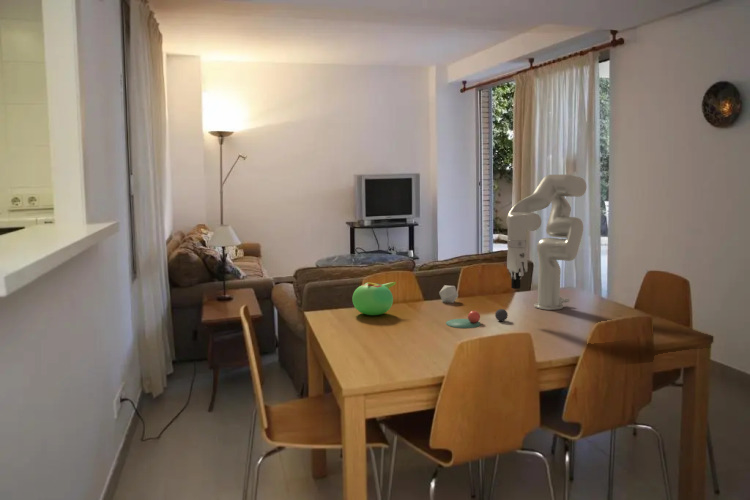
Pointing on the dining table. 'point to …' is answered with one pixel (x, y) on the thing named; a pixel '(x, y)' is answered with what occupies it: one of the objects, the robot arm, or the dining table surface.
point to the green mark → (462, 323)
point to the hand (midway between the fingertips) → (515, 288)
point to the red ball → (473, 316)
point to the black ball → (501, 315)
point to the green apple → (373, 298)
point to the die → (448, 294)
